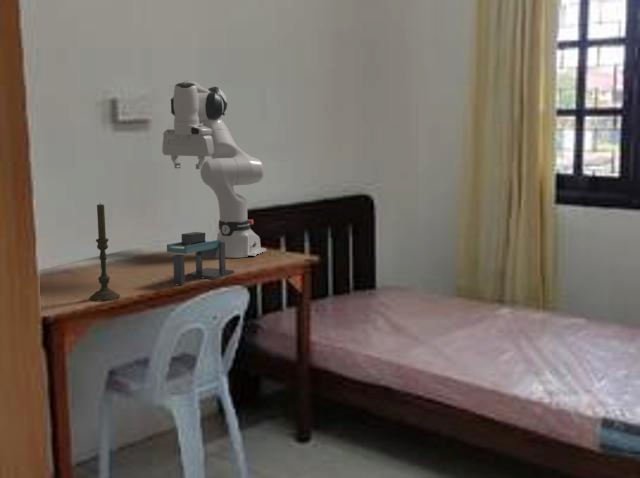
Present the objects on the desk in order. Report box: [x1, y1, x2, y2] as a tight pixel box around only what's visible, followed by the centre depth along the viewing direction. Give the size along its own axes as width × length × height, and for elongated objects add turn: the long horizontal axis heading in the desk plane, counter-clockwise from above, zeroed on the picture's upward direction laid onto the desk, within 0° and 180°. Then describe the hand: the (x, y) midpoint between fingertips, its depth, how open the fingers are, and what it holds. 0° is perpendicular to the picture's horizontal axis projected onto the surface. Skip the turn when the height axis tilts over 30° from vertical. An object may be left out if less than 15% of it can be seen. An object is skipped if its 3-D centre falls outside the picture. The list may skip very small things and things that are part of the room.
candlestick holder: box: [89, 202, 121, 302], centre depth 251 cm, size 9×9×30 cm
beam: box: [166, 239, 221, 259], centre depth 280 cm, size 23×9×6 cm, turn 152°
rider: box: [181, 231, 206, 246], centre depth 277 cm, size 4×4×8 cm
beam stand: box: [172, 242, 235, 286], centre depth 281 cm, size 25×12×12 cm, turn 152°
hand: (188, 168), depth 288 cm, fingers open, 8 cm apart
